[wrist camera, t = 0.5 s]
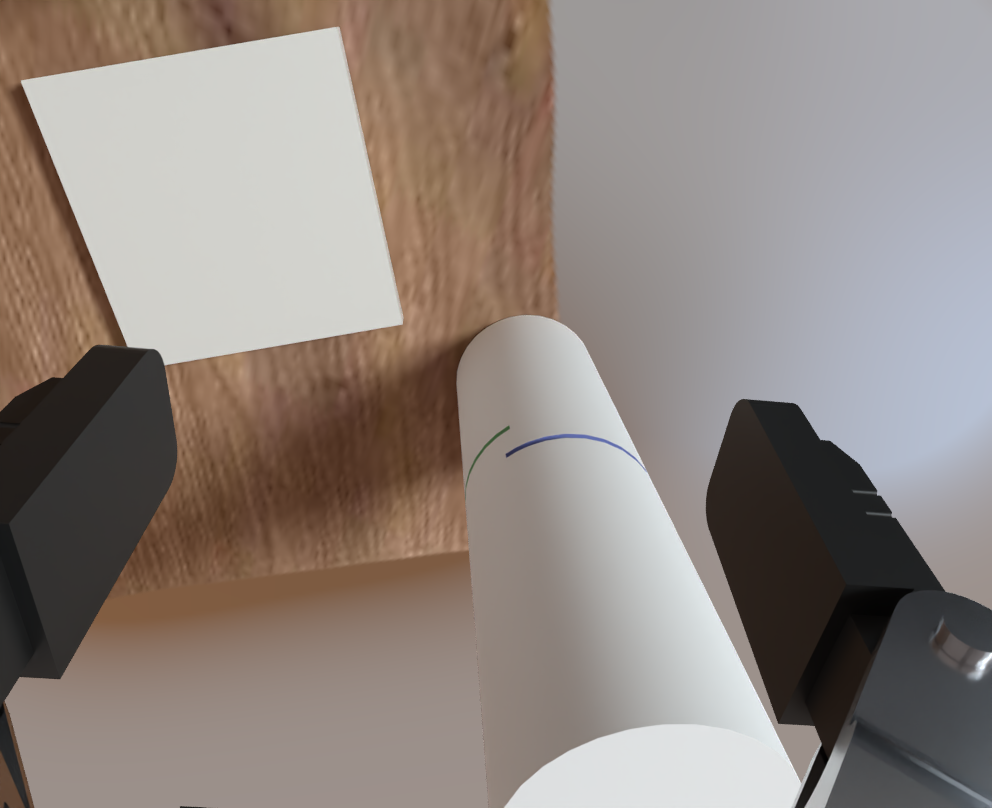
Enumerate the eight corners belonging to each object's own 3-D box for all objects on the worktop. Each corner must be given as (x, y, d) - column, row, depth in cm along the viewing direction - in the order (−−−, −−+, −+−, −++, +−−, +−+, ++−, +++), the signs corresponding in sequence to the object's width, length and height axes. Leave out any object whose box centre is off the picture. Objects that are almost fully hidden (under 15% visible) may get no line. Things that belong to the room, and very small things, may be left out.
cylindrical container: (610, 409, 41) (832, 872, 18) (488, 458, 41) (558, 961, 19) (564, 293, 37) (764, 678, 15) (433, 348, 38) (439, 794, 16)
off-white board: (32, 79, 31) (20, 80, 31) (339, 26, 32) (337, 26, 31) (143, 361, 37) (136, 370, 36) (403, 317, 37) (402, 324, 36)
